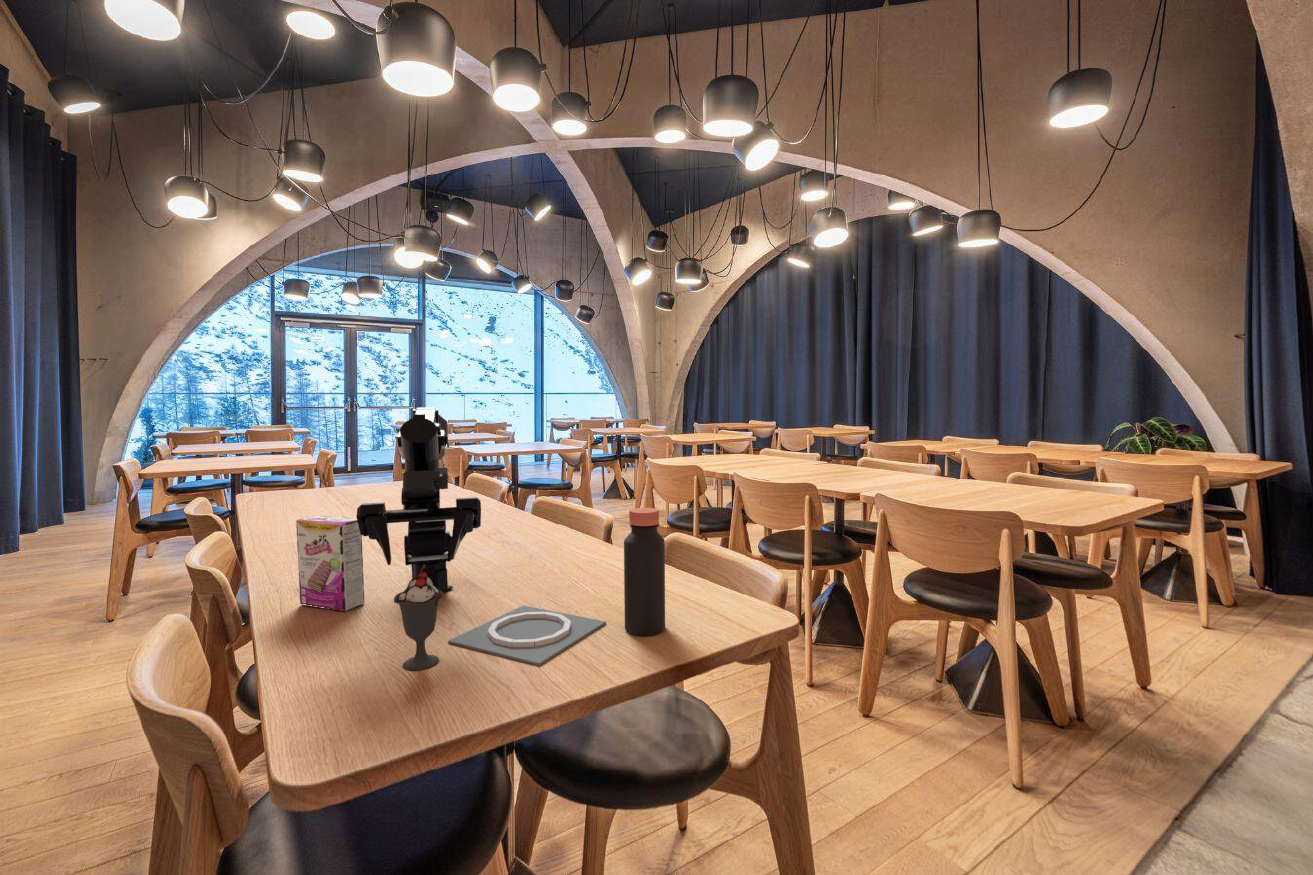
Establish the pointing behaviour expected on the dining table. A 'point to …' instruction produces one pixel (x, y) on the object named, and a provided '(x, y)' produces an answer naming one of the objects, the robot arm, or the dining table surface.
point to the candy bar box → (330, 562)
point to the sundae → (419, 617)
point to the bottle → (644, 574)
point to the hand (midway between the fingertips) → (421, 560)
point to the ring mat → (528, 634)
